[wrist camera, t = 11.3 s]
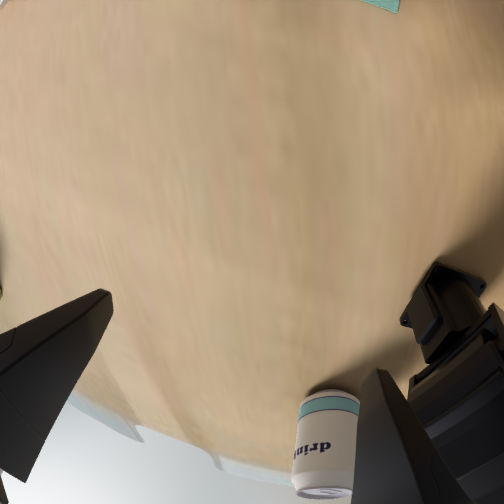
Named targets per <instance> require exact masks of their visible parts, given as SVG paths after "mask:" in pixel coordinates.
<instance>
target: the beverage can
mask: <svg viewBox="0 0 504 504" xmlns="http://www.w3.org/2000/svg"><path fill="white" fill-rule="evenodd" d="M359 406H360V403H359V400H358V399H357V398H356V397H355V396H353V395H351V394H349V393H346V392H344V391H342V390H337V389H327V390H322V391H318V392H316V393H314V394H313V395H311V396H309V397H307V398H305V399H304V400H303V401H302V402H301V404H300V409H299V419H298V428H297V436H296V445H295V453H294V460H293V468H292V475H291V481H292V483H293V485H294V487H295V489H296V495H297V496H299V497H302V498H307V499H318V500H325V499H337V498H343V497H346V496H349V495H351V494H352V489H353V479H354V467H355V452H356V432H357V421H358V413H359Z"/></svg>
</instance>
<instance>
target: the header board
mask: <svg viewBox="0 0 504 504" xmlns="http://www.w3.org/2000/svg"><path fill="white" fill-rule="evenodd" d="M361 1H364V2H366V3H369V4H372V5H375V6H378V7H380V8H383V9H386V10H388V11H391V12H393V13H395V14H396V13H397V10H398V5H399V0H361Z"/></svg>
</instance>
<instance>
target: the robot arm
mask: <svg viewBox="0 0 504 504" xmlns="http://www.w3.org/2000/svg"><path fill="white" fill-rule="evenodd" d="M436 268H439V269H438V270H435V269H436ZM486 285H487V284H486V282H485V280H484V279H482V278H479V277H476V276H474V275H471V274H469V273H466V272H463V271H461V270H458V269H455V268H453V267H450V266H447V265H444V264H442V263H439V262H436V263H434V264H433V265H432V266H431V268H430V270H429V271H428V273H427V275H426V277H425V278H424V280H423V282H422V284H421V285H420V286H419V287H418V289H417V291H416V292H415V294H414V296H413V297H412V299H411V301H410V302H409V304H408V305H407V307H406V310H405V311H404V313H403V314H402V316H401V317H400V324H401V325H402V326H405V327H409V328H413V331H414V334H415V338H416V341H417V343H418V344H420V346H421V349H422V352H423V356H424V359H425V363H426V364H430V365H428V366H427V367H426V368H425V369H423V370H422V371H421V372H420V373H418V374H417V375H414V376H413V377H411V378H410V380H409V390H408V398H407V400H406V399H405V397H404V395H403V394H402V392H401V391H400V389H399V388H398V386H397V385H396V383H395V381H394V380H393V378H392V377H391V375H390V374H389V372H388V371H387V370H386V369H381V368H375V369H374V370H373V371H372V372H371V373H370V375H369V376H368V377H367V378H366V379H365V381H364V382H363V385H362V390H361V398H360V406H359V413H358V421H357V432H356V452H355V467H354V479H353V489H352V499H351V504H504V311H503V310H502V309H500V308H499V307H498V306H497V305H496V304H495V303H494V302H493V303H492V304H491V305H490V306H489V307H488V310H487V311H486V310H485V308H484V306H483V305H482V303H481V301H480V300H479V297H480V296H481V294H482V292H483V291H484V289H485V288H486ZM112 315H113V302H112V294H111V293H110V292H109V291H107V290H104V289H97V290H95V291H93V292H90V293H88V294H86V295H84V296H82V297H79V298H77V299H75V300H73V301H71V302H68V303H66V304H64V305H62V306H60V307H58V308H55V309H53V310H51V311H49V312H47V313H45V314H43V315H40V316H38V317H36V318H34V319H32V320H30V321H28V322H26V323H23V324H21V325H19V326H17V328H16V327H15V328H13V329H11V330H9V331H7V332H4V333H2V334H0V504H8V503H9V502H8V499H7V496H6V492H5V489H4V486H3V482H2V479H1V474H2V472H3V470H4V471H5V472H7V473H9V474H10V475H12V476H13V477H15V478H17V479H19V480H20V481H22V482H24V483H25V482H26V481H27V479H28V477H29V474H30V472H31V470H32V468H33V466H34V463H35V461H36V459H37V457H38V455H39V453H40V451H41V449H42V447H43V445H44V443H45V440H46V438H47V436H48V434H49V432H50V430H51V429H52V427H53V425H54V423H55V421H56V419H57V417H58V415H59V413H60V411H61V410H62V408H63V406H64V404H65V402H66V400H67V399H68V397H69V395H70V393H71V392H72V390H73V388H74V386H75V385H76V383H77V381H78V379H79V378H80V376H81V374H82V372H83V371H84V369H85V367H86V366H87V364H88V362H89V361H90V359H91V357H92V356H93V354H94V352H95V350H96V348H97V346H98V344H99V342H100V340H101V338H102V336H103V334H104V332H105V330H106V327H107V325H108V323H109V321H110V319H111V317H112ZM404 320H406V321H404Z"/></svg>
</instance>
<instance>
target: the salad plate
mask: <svg viewBox="0 0 504 504" xmlns="http://www.w3.org/2000/svg"><path fill="white" fill-rule="evenodd" d="M8 1H9V0H0V11H1V10H2V8H3V7H4V6H5V5H6V4H7V3H8Z"/></svg>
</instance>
